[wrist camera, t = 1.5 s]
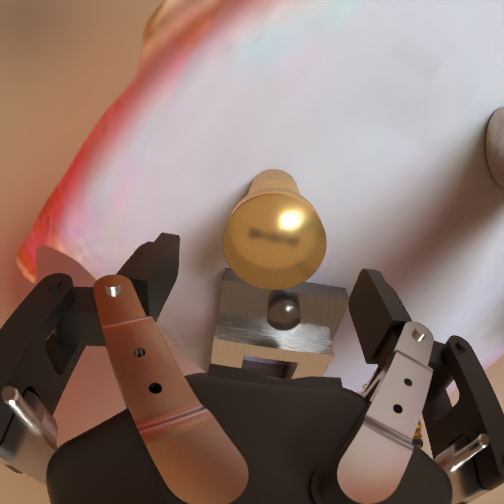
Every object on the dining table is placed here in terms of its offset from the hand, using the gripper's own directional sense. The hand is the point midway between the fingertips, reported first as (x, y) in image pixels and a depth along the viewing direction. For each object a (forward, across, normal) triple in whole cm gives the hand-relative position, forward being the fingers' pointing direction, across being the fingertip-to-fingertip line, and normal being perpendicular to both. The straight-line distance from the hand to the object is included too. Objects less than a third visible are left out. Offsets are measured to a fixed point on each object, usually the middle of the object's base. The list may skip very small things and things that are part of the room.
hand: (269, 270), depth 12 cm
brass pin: (+12, 0, 0) cm, 12 cm away
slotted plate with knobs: (+12, -4, +18) cm, 22 cm away
